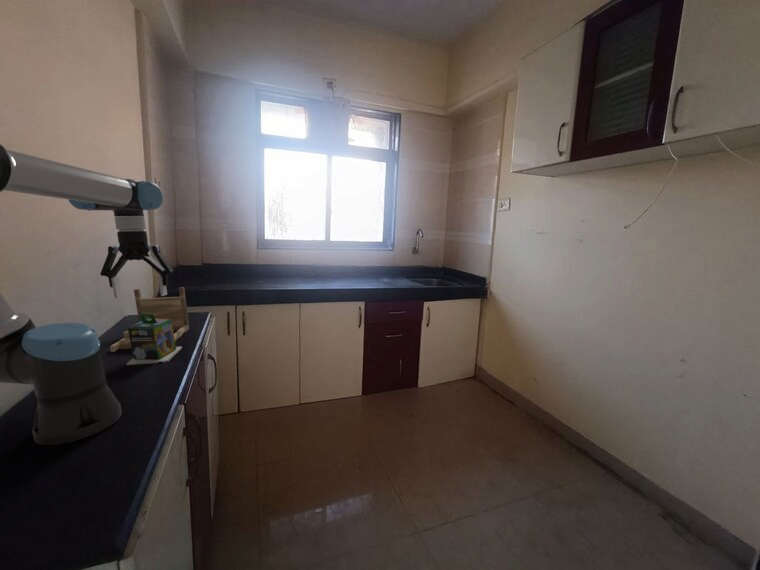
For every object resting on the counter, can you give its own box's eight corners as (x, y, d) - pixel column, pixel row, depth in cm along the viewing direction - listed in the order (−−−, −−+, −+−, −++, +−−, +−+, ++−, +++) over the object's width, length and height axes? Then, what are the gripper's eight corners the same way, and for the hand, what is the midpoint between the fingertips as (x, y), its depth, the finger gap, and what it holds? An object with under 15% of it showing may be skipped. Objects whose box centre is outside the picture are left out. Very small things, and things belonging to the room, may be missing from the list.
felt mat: (167, 362, 109) (167, 360, 109) (126, 365, 107) (126, 363, 107) (181, 348, 121) (181, 346, 121) (145, 350, 119) (145, 348, 119)
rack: (166, 348, 121) (159, 300, 117) (110, 351, 118) (101, 302, 114) (189, 328, 142) (184, 287, 138) (142, 331, 139) (135, 289, 135)
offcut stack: (162, 346, 122) (160, 331, 121) (120, 349, 120) (117, 333, 119) (168, 342, 127) (166, 327, 126) (127, 344, 124) (124, 329, 123)
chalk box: (177, 349, 118) (171, 309, 115) (158, 360, 109) (152, 317, 106) (152, 348, 119) (146, 309, 116) (132, 359, 110) (124, 317, 107)
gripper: (179, 229, 110) (187, 292, 114) (95, 230, 106) (106, 295, 110) (169, 230, 103) (178, 297, 107) (78, 231, 99) (90, 300, 103)
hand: (141, 296), depth 109 cm, fingers open, 13 cm apart
